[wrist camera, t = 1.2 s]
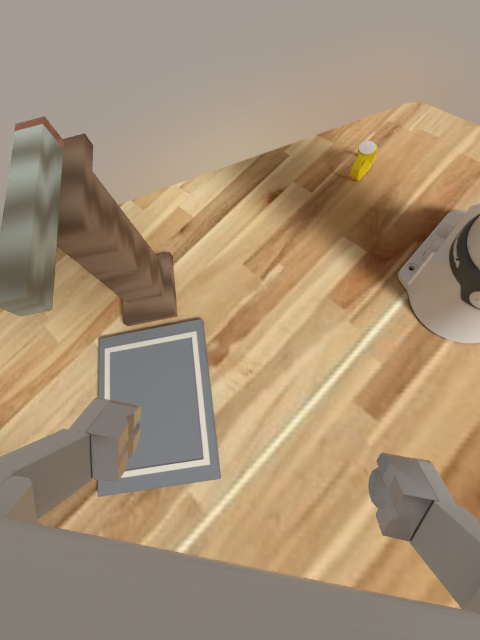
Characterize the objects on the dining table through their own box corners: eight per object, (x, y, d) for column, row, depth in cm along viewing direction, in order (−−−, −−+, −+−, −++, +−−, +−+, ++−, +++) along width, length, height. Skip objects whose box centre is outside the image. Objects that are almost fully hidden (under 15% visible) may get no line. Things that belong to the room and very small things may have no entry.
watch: (358, 188, 58) (363, 164, 53) (345, 182, 59) (349, 157, 53) (377, 164, 59) (385, 138, 53) (364, 158, 60) (370, 131, 54)
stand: (177, 316, 55) (86, 222, 30) (127, 326, 55) (0, 242, 31) (172, 256, 59) (89, 132, 35) (126, 266, 60) (13, 151, 35)
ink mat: (220, 477, 45) (219, 479, 44) (101, 495, 47) (96, 497, 46) (203, 320, 54) (201, 318, 53) (102, 340, 55) (98, 338, 54)
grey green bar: (37, 148, 35) (15, 124, 32) (64, 141, 35) (44, 116, 32) (19, 316, 28) (-11, 303, 25) (53, 309, 28) (26, 295, 25)
